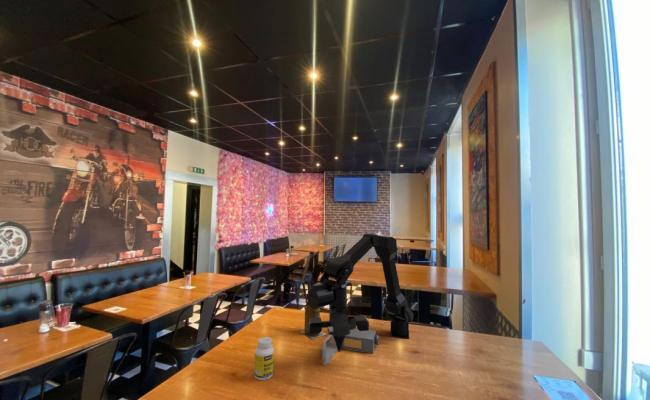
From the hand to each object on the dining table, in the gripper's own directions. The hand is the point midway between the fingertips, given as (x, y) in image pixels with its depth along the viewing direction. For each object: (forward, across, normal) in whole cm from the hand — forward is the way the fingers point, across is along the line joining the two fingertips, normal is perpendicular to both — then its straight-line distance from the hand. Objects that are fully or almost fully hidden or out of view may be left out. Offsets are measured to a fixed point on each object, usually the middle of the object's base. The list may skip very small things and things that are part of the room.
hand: (338, 351), depth 84 cm
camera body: (+4, +8, +10) cm, 14 cm away
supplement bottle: (+3, -23, -6) cm, 23 cm away
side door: (+3, -2, +3) cm, 5 cm away
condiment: (+4, -7, +22) cm, 23 cm away
